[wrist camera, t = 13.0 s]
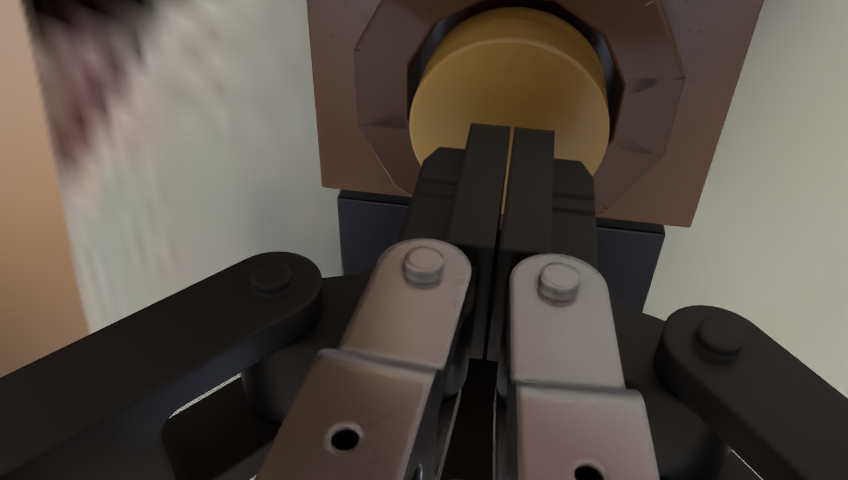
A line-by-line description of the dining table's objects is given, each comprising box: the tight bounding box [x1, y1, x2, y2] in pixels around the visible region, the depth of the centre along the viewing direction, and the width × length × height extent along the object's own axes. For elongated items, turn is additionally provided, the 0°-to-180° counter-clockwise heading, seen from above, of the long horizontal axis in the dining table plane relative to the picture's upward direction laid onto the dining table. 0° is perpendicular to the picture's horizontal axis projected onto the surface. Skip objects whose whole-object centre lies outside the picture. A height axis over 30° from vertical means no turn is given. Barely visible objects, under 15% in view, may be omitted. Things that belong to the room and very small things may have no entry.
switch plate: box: [307, 0, 764, 230], centre depth 17 cm, size 10×8×4 cm
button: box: [409, 7, 610, 214], centre depth 15 cm, size 4×4×2 cm
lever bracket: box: [337, 189, 665, 480], centre depth 19 cm, size 10×8×12 cm
